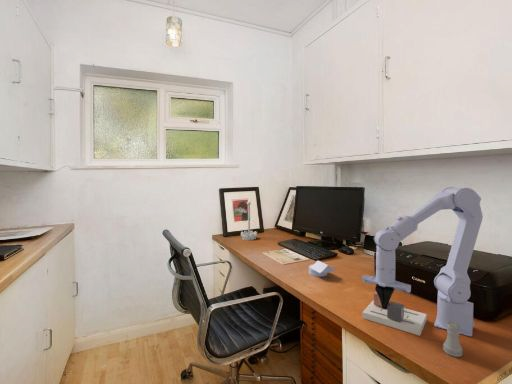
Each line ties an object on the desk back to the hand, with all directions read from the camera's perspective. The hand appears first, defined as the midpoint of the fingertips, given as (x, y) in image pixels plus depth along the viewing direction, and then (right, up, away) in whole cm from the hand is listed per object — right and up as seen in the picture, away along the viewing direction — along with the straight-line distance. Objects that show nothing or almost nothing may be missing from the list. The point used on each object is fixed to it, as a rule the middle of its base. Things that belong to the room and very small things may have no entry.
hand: (385, 308), depth 90 cm
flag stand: (-48, 0, +130) cm, 139 cm away
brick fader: (+2, -2, +7) cm, 8 cm away
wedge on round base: (-11, -3, +45) cm, 47 cm away
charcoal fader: (+2, -2, -2) cm, 4 cm away
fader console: (+4, -4, +2) cm, 6 cm away
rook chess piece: (+10, -5, -16) cm, 20 cm away
